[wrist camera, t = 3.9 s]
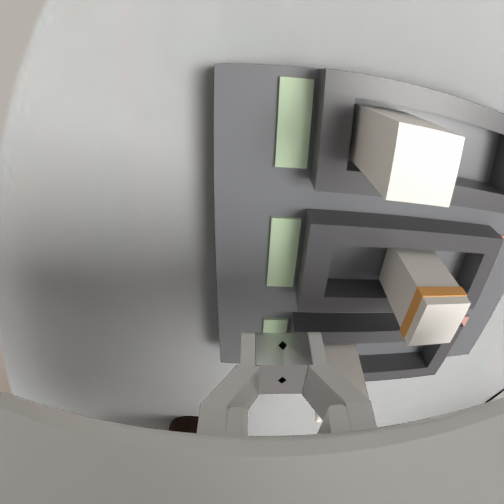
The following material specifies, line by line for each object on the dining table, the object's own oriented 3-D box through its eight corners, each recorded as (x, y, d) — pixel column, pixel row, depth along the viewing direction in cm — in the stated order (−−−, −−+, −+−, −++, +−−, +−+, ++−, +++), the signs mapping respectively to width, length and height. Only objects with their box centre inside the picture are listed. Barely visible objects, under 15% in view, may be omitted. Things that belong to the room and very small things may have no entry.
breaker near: (403, 111, 12) (465, 137, 8) (395, 161, 13) (448, 207, 9) (352, 102, 12) (399, 122, 8) (346, 155, 13) (385, 199, 9)
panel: (536, 130, 13) (572, 147, 10) (459, 337, 23) (475, 368, 20) (220, 64, 13) (208, 62, 10) (223, 341, 23) (218, 380, 20)
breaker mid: (429, 242, 15) (472, 302, 11) (415, 280, 17) (450, 343, 12) (388, 239, 15) (426, 303, 11) (377, 279, 17) (406, 347, 12)
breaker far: (352, 331, 19) (369, 398, 15) (343, 356, 20) (356, 419, 16) (314, 331, 19) (324, 401, 15) (308, 356, 20) (315, 422, 16)
